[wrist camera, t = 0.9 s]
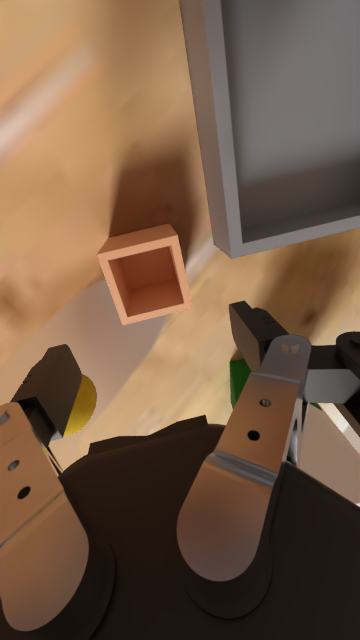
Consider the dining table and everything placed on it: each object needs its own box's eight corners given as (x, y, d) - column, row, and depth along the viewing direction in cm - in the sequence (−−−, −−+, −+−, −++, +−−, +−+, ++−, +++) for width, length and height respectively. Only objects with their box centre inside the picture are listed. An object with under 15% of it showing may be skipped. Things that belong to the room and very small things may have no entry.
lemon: (101, 359, 31) (88, 410, 24) (101, 394, 33) (90, 450, 26) (51, 358, 30) (23, 411, 23) (56, 394, 32) (32, 452, 25)
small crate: (108, 237, 25) (96, 254, 19) (169, 223, 25) (177, 234, 19) (127, 294, 28) (122, 325, 21) (181, 281, 28) (192, 308, 21)
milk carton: (224, 407, 37) (297, 605, 20) (222, 356, 33) (312, 551, 15) (283, 396, 38) (406, 580, 20) (288, 344, 33) (450, 521, 16)
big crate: (176, -16, 18) (191, -101, 12) (399, -66, 18) (505, -172, 13) (214, 244, 26) (231, 258, 21) (364, 207, 26) (420, 213, 21)
